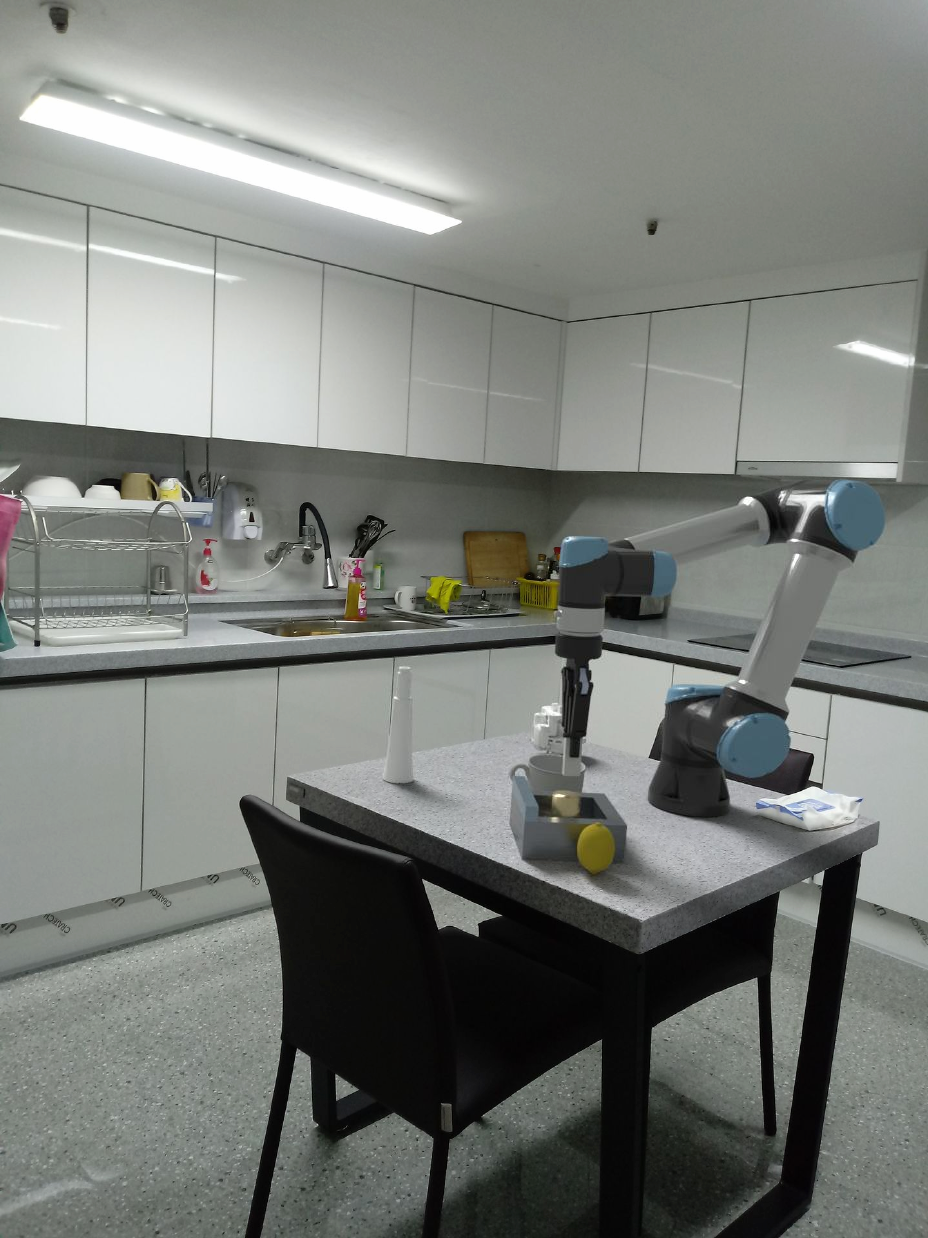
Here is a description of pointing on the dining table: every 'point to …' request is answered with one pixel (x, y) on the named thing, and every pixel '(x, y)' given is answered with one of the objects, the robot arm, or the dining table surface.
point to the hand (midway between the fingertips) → (571, 774)
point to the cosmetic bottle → (400, 732)
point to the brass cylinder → (566, 804)
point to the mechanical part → (549, 730)
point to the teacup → (549, 774)
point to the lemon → (596, 848)
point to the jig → (559, 823)
